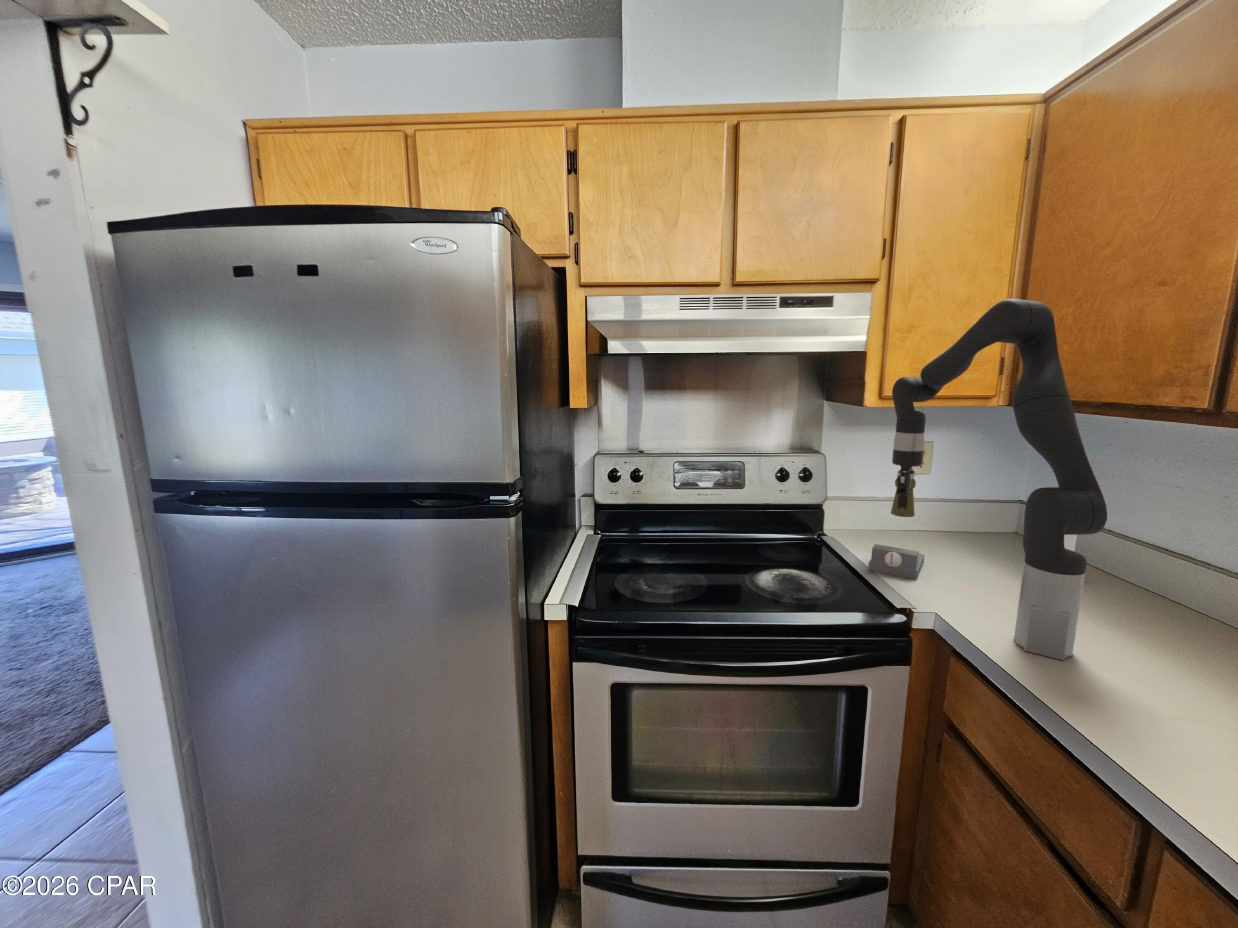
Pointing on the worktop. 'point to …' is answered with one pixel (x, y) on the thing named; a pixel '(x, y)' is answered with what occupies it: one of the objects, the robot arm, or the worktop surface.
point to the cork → (910, 502)
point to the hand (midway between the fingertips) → (903, 506)
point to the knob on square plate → (896, 561)
